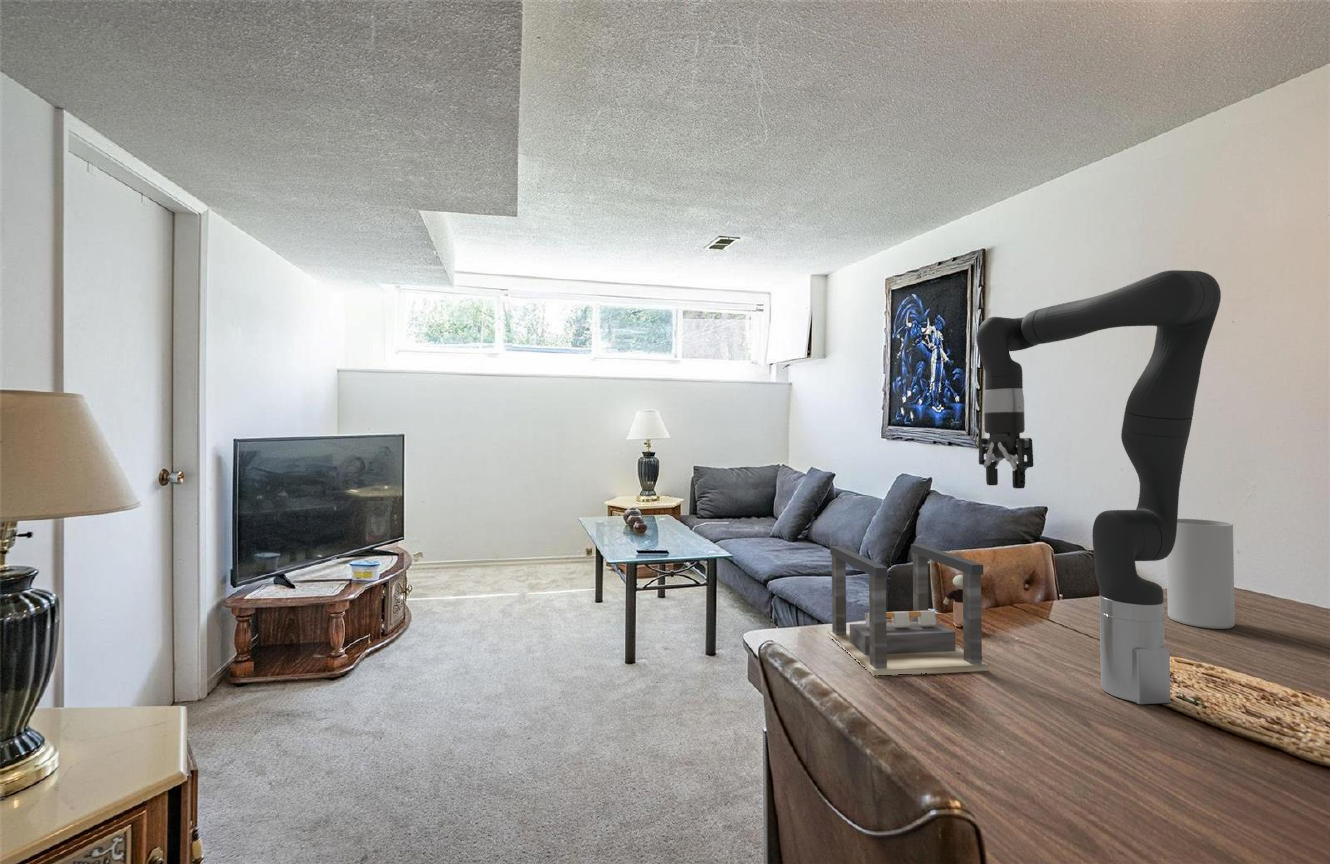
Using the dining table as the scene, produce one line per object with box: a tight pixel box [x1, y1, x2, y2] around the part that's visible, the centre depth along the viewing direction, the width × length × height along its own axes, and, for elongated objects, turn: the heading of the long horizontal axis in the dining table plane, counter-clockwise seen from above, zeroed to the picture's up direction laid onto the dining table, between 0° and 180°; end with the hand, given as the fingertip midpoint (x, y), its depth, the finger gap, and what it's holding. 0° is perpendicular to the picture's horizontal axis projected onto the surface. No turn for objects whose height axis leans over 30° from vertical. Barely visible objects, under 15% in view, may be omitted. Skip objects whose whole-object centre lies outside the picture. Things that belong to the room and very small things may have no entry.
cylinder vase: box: [1166, 518, 1236, 630], centre depth 150 cm, size 12×12×25 cm
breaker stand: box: [827, 553, 989, 676], centre depth 131 cm, size 24×24×19 cm
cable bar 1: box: [829, 545, 889, 579], centre depth 130 cm, size 24×2×2 cm, turn 6°
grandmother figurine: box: [943, 574, 963, 626], centre depth 148 cm, size 8×4×13 cm, turn 84°
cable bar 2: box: [910, 543, 984, 576], centre depth 132 cm, size 24×2×2 cm, turn 6°
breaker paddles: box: [864, 609, 937, 627], centre depth 131 cm, size 2×15×3 cm, turn 96°
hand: (1004, 486), depth 128 cm, fingers open, 8 cm apart
